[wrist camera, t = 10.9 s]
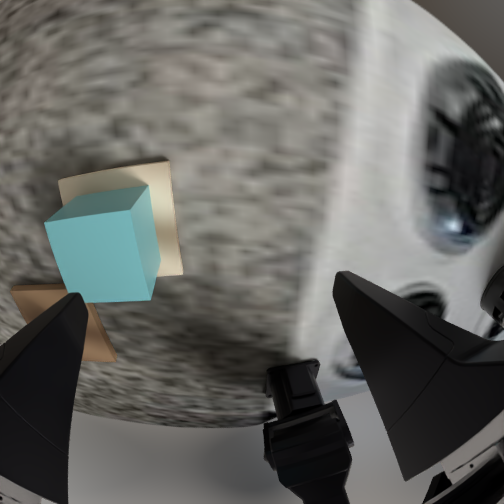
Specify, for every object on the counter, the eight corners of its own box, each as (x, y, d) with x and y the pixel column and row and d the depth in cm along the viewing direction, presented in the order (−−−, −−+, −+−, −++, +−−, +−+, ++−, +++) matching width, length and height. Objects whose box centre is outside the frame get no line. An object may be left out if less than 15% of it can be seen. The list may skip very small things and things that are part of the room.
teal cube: (160, 259, 21) (150, 300, 16) (94, 265, 20) (72, 303, 15) (148, 185, 18) (130, 210, 13) (76, 196, 17) (44, 222, 13)
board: (183, 270, 22) (182, 274, 21) (87, 277, 21) (85, 281, 20) (169, 160, 18) (167, 161, 17) (61, 178, 16) (57, 180, 16)
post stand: (117, 355, 26) (107, 399, 21) (50, 351, 25) (35, 388, 20) (84, 282, 21) (60, 327, 16) (14, 285, 20) (-13, 322, 15)
